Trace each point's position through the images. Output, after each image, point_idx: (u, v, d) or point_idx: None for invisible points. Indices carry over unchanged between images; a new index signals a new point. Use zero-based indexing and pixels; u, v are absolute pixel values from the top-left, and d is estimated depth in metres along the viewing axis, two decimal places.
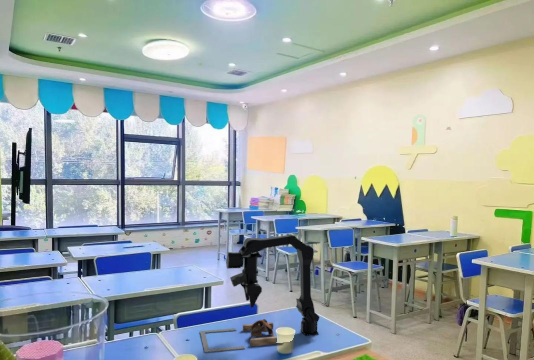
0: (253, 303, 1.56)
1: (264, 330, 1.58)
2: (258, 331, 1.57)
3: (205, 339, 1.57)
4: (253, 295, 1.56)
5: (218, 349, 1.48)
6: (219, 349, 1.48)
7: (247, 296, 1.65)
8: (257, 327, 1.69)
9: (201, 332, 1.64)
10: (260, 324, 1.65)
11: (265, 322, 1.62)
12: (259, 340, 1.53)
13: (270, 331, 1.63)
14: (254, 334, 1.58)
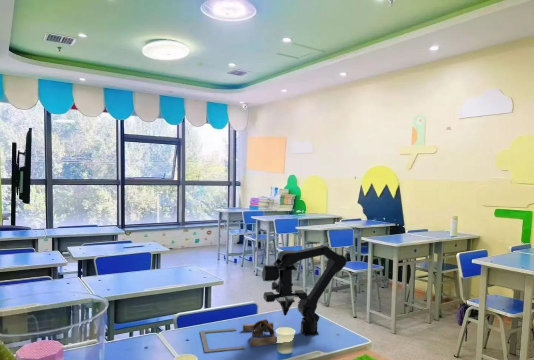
0: (283, 311, 1.65)
1: (265, 330, 1.57)
2: (259, 331, 1.57)
3: (205, 339, 1.57)
4: (282, 303, 1.65)
5: (218, 349, 1.48)
6: (219, 349, 1.48)
7: None
8: (257, 327, 1.69)
9: (201, 332, 1.64)
10: (261, 324, 1.65)
11: (266, 322, 1.62)
12: (259, 340, 1.53)
13: (271, 331, 1.63)
14: (255, 334, 1.58)
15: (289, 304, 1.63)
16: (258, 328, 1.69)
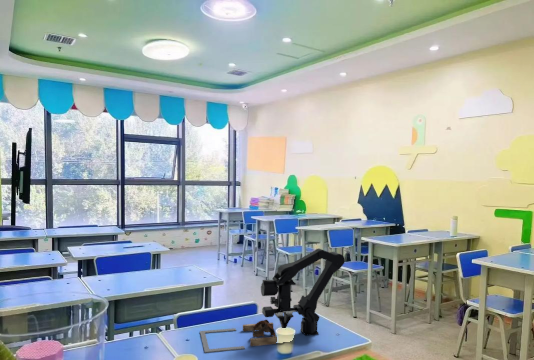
0: (281, 326, 1.64)
1: (266, 330, 1.57)
2: (260, 331, 1.57)
3: (205, 339, 1.57)
4: None
5: (218, 349, 1.48)
6: (219, 349, 1.48)
7: None
8: (257, 327, 1.69)
9: (201, 332, 1.64)
10: (262, 324, 1.64)
11: (267, 322, 1.62)
12: (259, 340, 1.53)
13: (272, 331, 1.63)
14: (256, 334, 1.57)
15: (288, 319, 1.63)
16: (258, 328, 1.69)
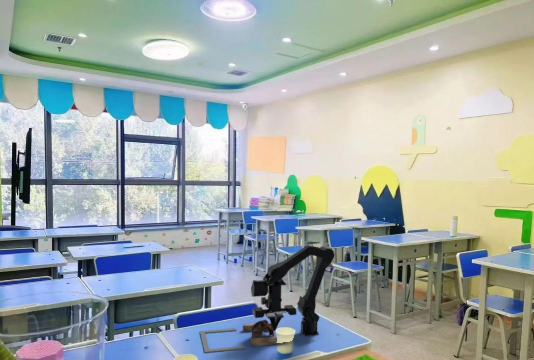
0: (272, 327, 1.63)
1: (265, 331, 1.57)
2: (259, 332, 1.56)
3: (205, 339, 1.57)
4: None
5: (218, 349, 1.48)
6: (219, 349, 1.48)
7: None
8: (257, 327, 1.69)
9: (201, 332, 1.64)
10: (261, 325, 1.64)
11: (266, 322, 1.61)
12: (259, 340, 1.53)
13: (271, 332, 1.62)
14: (255, 335, 1.57)
15: (278, 320, 1.62)
16: (258, 328, 1.69)
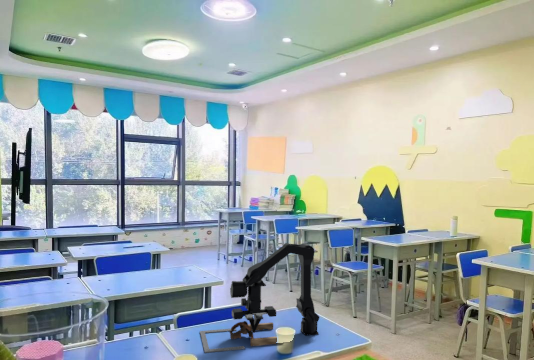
0: (252, 328, 1.61)
1: (243, 332, 1.54)
2: (237, 333, 1.54)
3: (205, 339, 1.57)
4: None
5: (218, 349, 1.48)
6: (219, 349, 1.48)
7: None
8: (257, 327, 1.69)
9: (201, 332, 1.64)
10: (240, 326, 1.62)
11: (245, 324, 1.59)
12: (259, 340, 1.53)
13: (250, 333, 1.60)
14: (233, 336, 1.55)
15: (257, 321, 1.59)
16: (258, 328, 1.69)
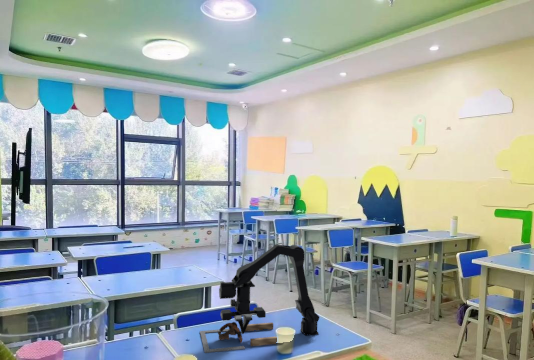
0: (241, 329, 1.59)
1: (231, 333, 1.53)
2: (225, 334, 1.53)
3: (205, 339, 1.57)
4: None
5: (218, 349, 1.48)
6: (219, 349, 1.48)
7: None
8: (257, 327, 1.69)
9: (201, 332, 1.64)
10: (229, 327, 1.60)
11: (234, 325, 1.58)
12: (259, 340, 1.53)
13: (239, 334, 1.58)
14: (221, 337, 1.53)
15: (246, 322, 1.58)
16: (258, 328, 1.69)
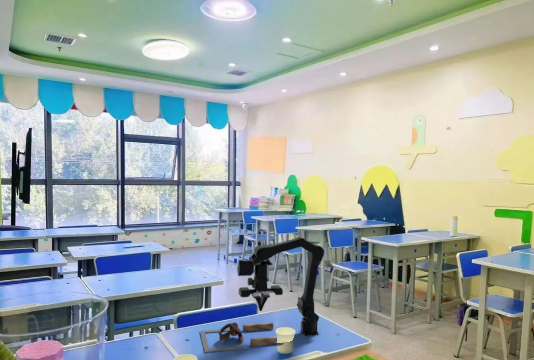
0: (258, 307, 1.63)
1: (232, 334, 1.53)
2: (226, 335, 1.52)
3: (205, 339, 1.57)
4: None
5: (218, 349, 1.48)
6: (219, 349, 1.48)
7: None
8: (257, 327, 1.69)
9: (201, 332, 1.64)
10: (230, 327, 1.60)
11: (234, 325, 1.58)
12: (259, 340, 1.53)
13: (240, 335, 1.58)
14: (222, 338, 1.53)
15: (264, 299, 1.61)
16: (258, 328, 1.69)
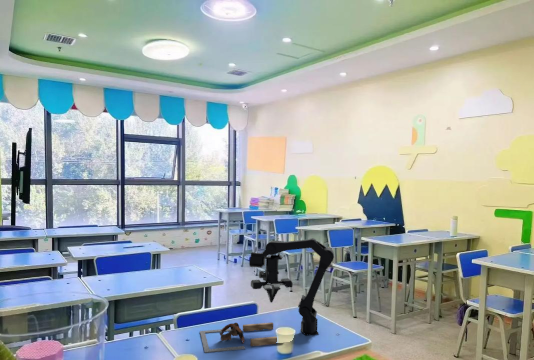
0: (269, 298, 1.71)
1: (234, 334, 1.53)
2: (227, 335, 1.52)
3: (205, 339, 1.57)
4: None
5: (218, 349, 1.48)
6: (219, 349, 1.48)
7: None
8: (257, 327, 1.69)
9: (201, 332, 1.64)
10: (231, 328, 1.60)
11: (236, 326, 1.57)
12: (259, 340, 1.53)
13: (241, 335, 1.58)
14: (223, 338, 1.53)
15: (275, 291, 1.70)
16: (258, 328, 1.69)
